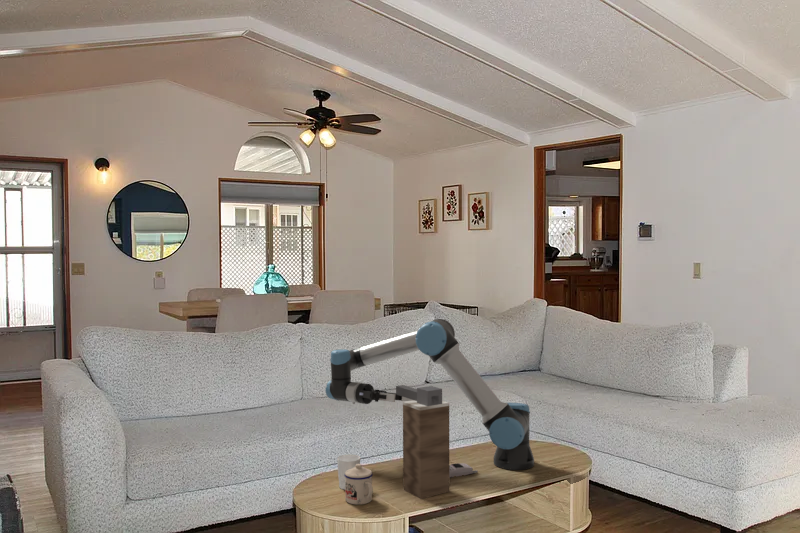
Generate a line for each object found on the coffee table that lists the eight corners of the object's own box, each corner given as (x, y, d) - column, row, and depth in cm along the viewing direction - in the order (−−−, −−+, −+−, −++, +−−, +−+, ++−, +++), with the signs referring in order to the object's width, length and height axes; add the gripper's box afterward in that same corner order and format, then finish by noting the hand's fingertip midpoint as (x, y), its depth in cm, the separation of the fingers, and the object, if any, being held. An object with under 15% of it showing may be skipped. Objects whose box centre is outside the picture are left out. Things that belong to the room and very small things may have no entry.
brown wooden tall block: (403, 489, 234) (402, 401, 233) (431, 483, 241) (431, 397, 240) (420, 498, 226) (420, 407, 225) (449, 491, 233) (449, 402, 232)
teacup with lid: (339, 499, 226) (339, 463, 226) (362, 493, 232) (362, 458, 231) (359, 510, 217) (359, 473, 216) (383, 503, 222) (383, 467, 222)
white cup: (333, 485, 239) (333, 456, 239) (354, 481, 243) (354, 453, 243) (343, 492, 232) (343, 462, 232) (364, 488, 236) (364, 459, 236)
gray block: (392, 394, 244) (392, 380, 244) (406, 392, 248) (406, 379, 247) (427, 406, 227) (427, 391, 227) (442, 403, 230) (442, 388, 230)
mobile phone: (408, 461, 247) (471, 453, 256) (408, 477, 247) (471, 469, 256) (414, 466, 241) (478, 458, 250) (414, 483, 242) (478, 474, 251)
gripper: (380, 403, 271) (424, 409, 258) (337, 402, 251) (383, 408, 239) (382, 384, 272) (426, 389, 259) (339, 381, 253) (385, 386, 240)
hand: (406, 398), depth 249 cm, fingers open, 13 cm apart
